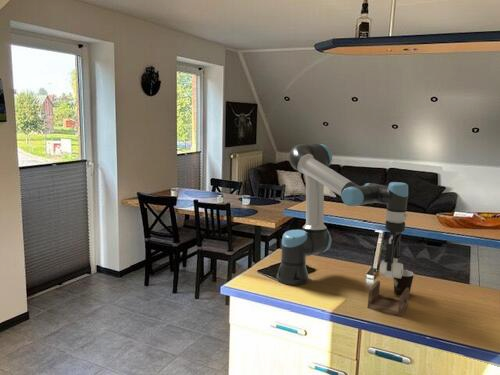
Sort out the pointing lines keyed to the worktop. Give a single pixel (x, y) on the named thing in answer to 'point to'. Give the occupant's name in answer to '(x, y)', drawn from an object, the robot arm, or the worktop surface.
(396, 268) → the roll
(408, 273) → the coffee mug
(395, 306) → the holder
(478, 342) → the worktop surface
